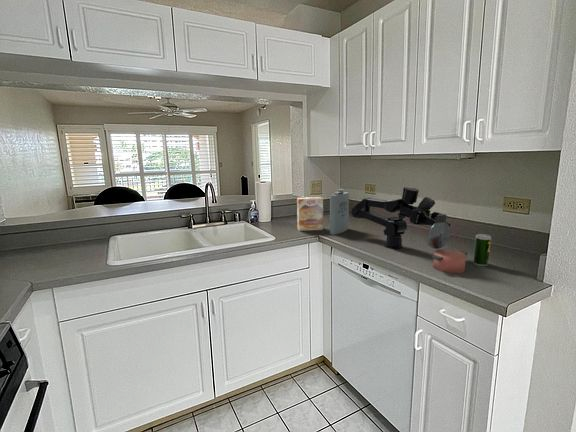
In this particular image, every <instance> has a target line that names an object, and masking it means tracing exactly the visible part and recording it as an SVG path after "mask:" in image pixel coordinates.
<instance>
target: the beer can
mask: <svg viewBox="0 0 576 432" xmlns="http://www.w3.org/2000/svg"><path fill="white" fill-rule="evenodd" d="M491 244H492V236H491V235H490V234H485V233H478V234H476V235H475V238H474V247H473V248H474V250H473V259H472V262H473V264H474V265H475V266H479V267H487V266H489V263H490V254H491Z"/></svg>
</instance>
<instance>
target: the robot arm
mask: <svg viewBox="0 0 576 432" xmlns="http://www.w3.org/2000/svg"><path fill="white" fill-rule="evenodd" d="M419 193H420V190H419V189H418V188H412V187H403V189H402V196H401V198H398V199H391V200H389V199H388V200H387V199H379V198H377V199H376V198H372V197H366V198H362V200H361V201H359V203H357V204H355V205H354V206H353V207H352V208H351V211H350V213H351V216H352V217H353V218H357V219H365V220H368V221H370V222H373V223H375V224H378V225H380V226H383V227H384V228H385V229H384V230H383V235H384V236H386V242H385V243H386V244H384V247H386V248H389V249H392V250H397V249H401V248H403V247H404V246H403V245H402V242H403V238H402V235H404V234H405V233H406V232H405V231H407V230H408V229H407V228H408V225H407V223H406V222H407V221H406V220H404V219H405V218H409V219H408V220H409V223H410V224H412V225H418V226H430V227H431V226H432V225H433V224H434V223H436V218H437V215H441V214H442V213H441V212H439V211H434V212H431V210H430V209H432V208H433V207H434V206H435V204H436V201H435V199H432V198H431V197H428V196H425V197H423V199H422V200H421V201H420V202H419V204H418V205H417V206H416V205H415V206H414V204H415V203H417V200H418V196H419ZM372 207H374V208H380V209H383V210H385V211H386V212H389V213H391V214H392V213H397V215H398V216H390V217H387V216H385V215H381V214H379V213H376V212H373V211H370V209H371V208H372ZM430 214H431V215H430ZM445 222H446V223H447V224H448V225H449V226H450V227H451V224H450V223H449V222H448V221H447V220H446V221H445Z"/></svg>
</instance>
